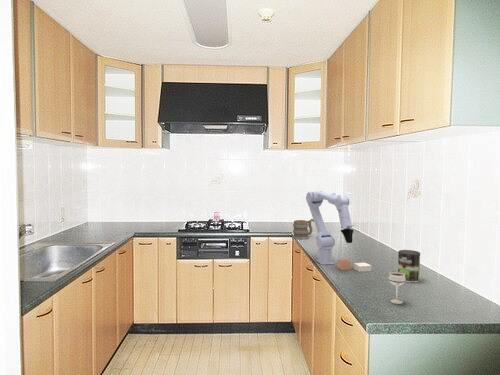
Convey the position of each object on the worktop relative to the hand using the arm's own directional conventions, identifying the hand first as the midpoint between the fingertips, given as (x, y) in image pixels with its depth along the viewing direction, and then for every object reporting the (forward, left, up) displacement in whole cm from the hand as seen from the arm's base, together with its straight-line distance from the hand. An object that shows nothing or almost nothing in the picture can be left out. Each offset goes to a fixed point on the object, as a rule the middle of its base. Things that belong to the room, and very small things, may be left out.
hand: (349, 242), depth 203 cm
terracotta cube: (-7, 0, -16) cm, 17 cm away
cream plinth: (-2, +9, -16) cm, 18 cm away
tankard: (-100, +10, -16) cm, 102 cm away
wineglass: (+46, -1, -16) cm, 49 cm away
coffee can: (+19, +23, -16) cm, 34 cm away
